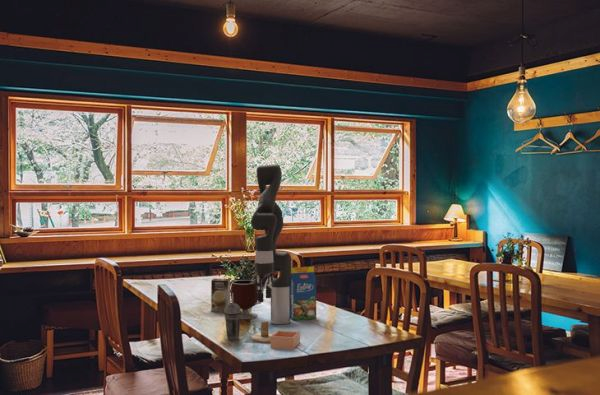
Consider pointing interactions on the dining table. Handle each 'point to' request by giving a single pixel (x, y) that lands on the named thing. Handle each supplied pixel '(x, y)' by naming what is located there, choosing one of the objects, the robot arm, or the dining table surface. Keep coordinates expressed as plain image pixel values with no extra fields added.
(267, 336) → the lid
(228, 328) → the beverage cup
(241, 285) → the mate gourd
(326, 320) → the dining table surface
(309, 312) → the blue food package
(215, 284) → the coffee box
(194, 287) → the dining table surface
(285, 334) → the open wooden box
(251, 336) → the mat
